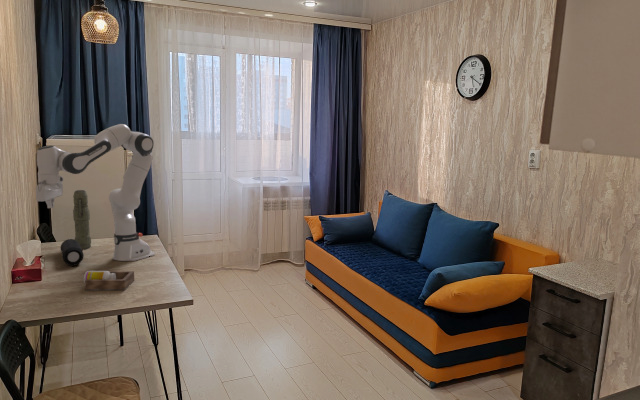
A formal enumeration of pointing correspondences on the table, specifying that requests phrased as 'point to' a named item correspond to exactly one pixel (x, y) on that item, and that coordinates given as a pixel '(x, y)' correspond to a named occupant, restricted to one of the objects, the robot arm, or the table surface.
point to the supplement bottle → (99, 275)
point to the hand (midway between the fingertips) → (50, 207)
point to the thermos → (81, 219)
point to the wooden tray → (112, 282)
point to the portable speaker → (71, 252)
